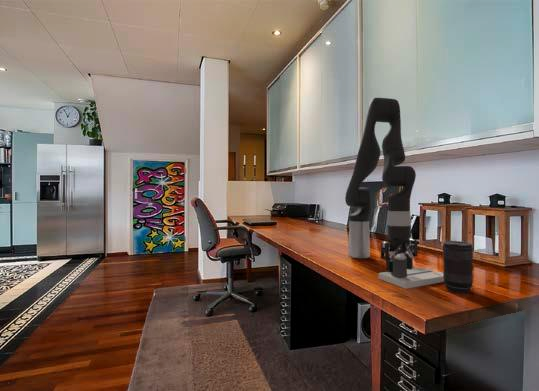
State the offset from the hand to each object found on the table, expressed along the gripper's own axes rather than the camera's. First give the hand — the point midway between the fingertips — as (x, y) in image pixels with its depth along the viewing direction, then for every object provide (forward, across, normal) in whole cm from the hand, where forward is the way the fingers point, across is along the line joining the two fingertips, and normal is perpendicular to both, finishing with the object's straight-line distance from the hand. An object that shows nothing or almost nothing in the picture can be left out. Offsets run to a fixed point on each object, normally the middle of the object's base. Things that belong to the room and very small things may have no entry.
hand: (399, 270), depth 101 cm
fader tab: (+2, 0, 0) cm, 2 cm away
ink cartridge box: (+4, -17, -14) cm, 23 cm away
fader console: (+4, -7, 0) cm, 8 cm away
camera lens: (+4, -11, +13) cm, 17 cm away
